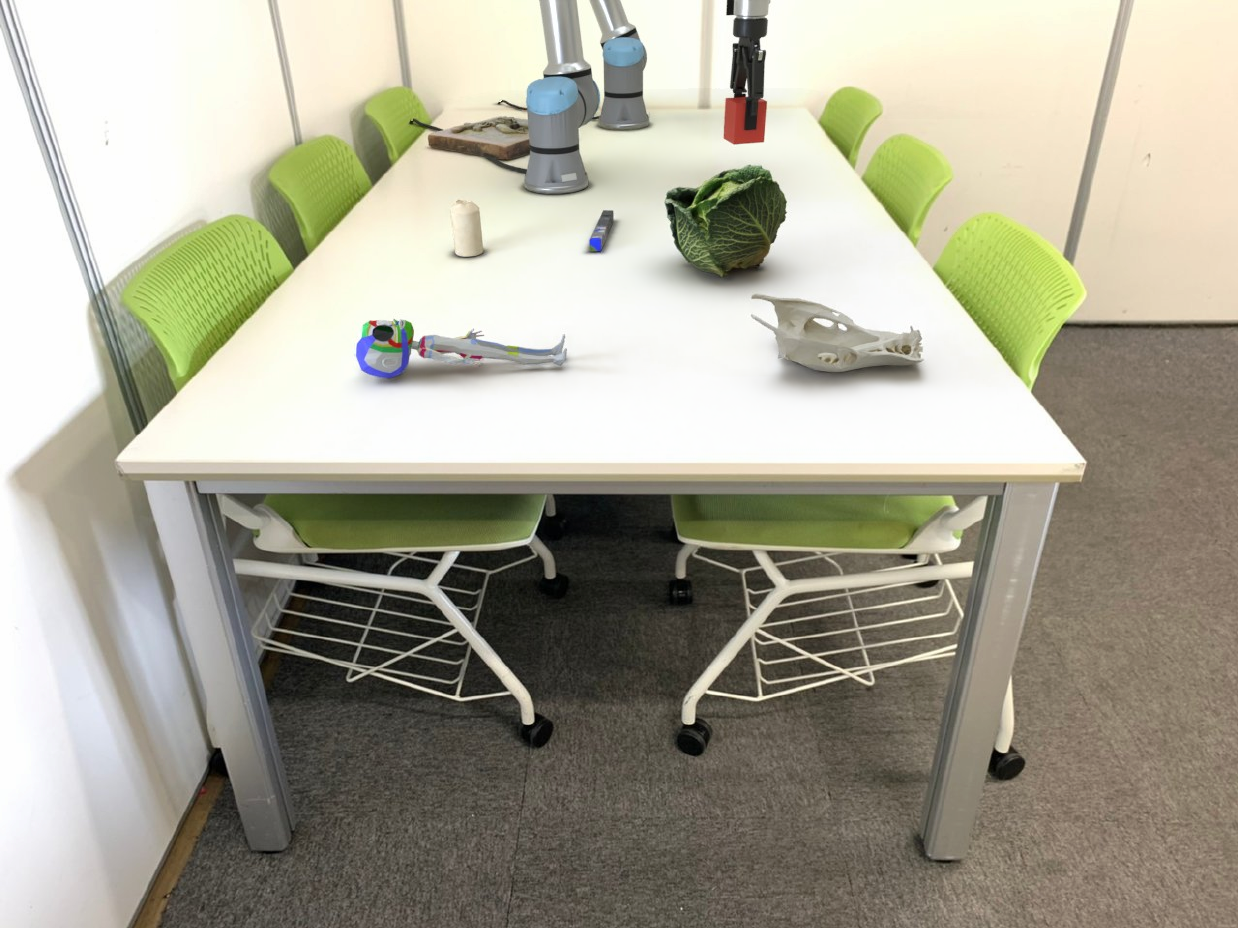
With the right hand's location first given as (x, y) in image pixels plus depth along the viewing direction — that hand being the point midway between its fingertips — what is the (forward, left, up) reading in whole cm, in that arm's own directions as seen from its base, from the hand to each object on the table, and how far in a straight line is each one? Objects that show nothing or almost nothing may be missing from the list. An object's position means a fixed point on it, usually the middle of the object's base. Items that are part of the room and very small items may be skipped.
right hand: (738, 17), depth 265 cm
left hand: (+48, -59, -15) cm, 77 cm away
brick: (+48, -59, -18) cm, 78 cm away
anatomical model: (+118, -130, -28) cm, 178 cm away
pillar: (+52, -111, -28) cm, 125 cm away
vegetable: (+82, -109, -28) cm, 139 cm away
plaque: (-27, -71, -28) cm, 81 cm away
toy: (+79, -168, -28) cm, 188 cm away
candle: (+39, -135, -28) cm, 144 cm away
